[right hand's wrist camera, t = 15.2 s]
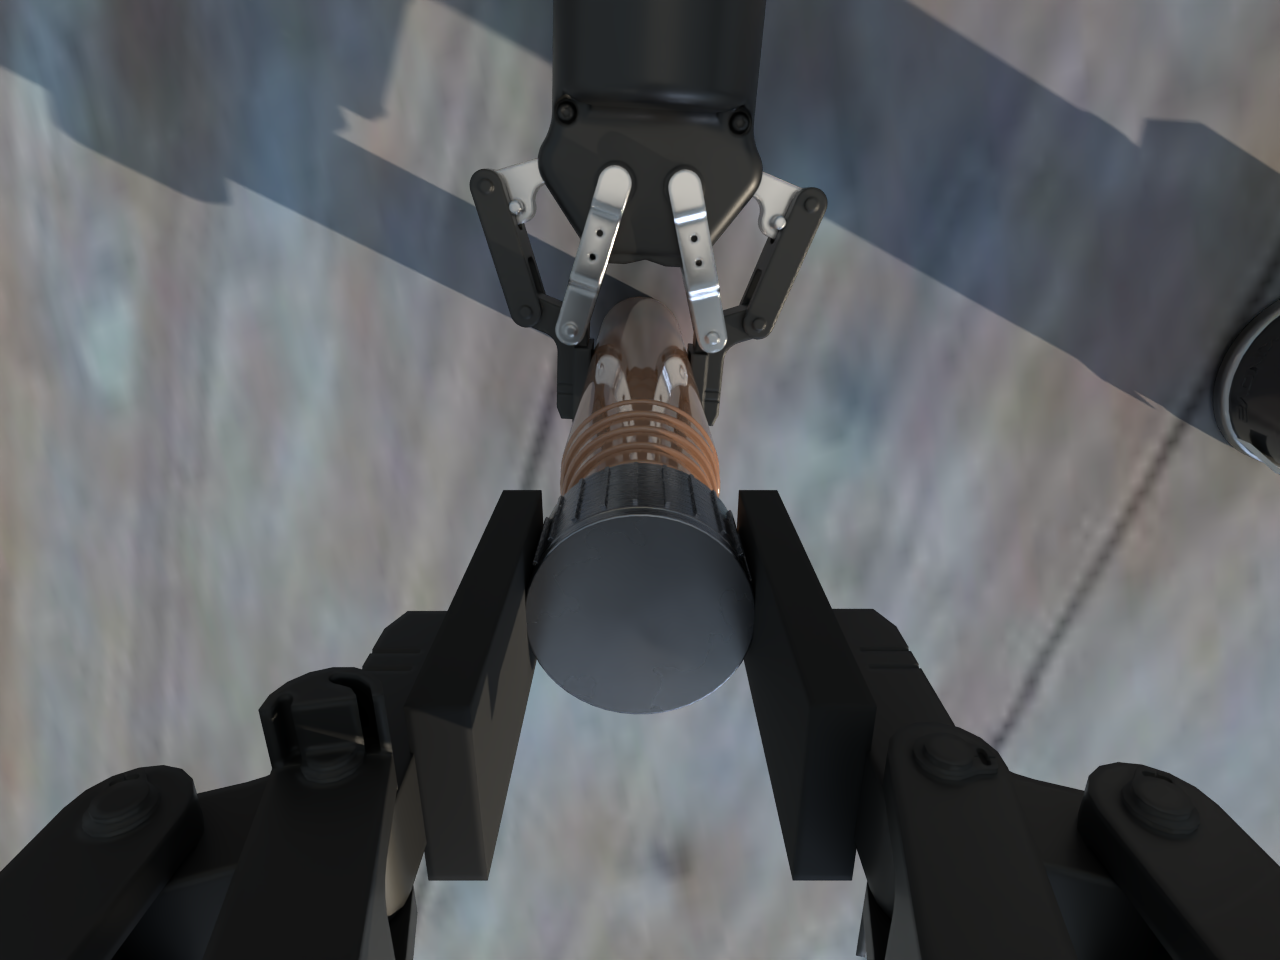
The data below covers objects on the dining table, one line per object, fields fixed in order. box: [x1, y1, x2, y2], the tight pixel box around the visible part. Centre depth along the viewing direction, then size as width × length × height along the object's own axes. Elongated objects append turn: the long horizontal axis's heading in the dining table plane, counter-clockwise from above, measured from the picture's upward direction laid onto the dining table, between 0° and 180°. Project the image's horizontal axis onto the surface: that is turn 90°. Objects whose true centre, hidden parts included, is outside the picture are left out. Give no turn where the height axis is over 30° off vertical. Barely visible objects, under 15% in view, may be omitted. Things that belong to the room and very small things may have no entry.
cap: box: [525, 462, 755, 714], centre depth 14 cm, size 4×4×2 cm
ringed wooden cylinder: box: [560, 297, 720, 498], centre depth 25 cm, size 4×4×26 cm
